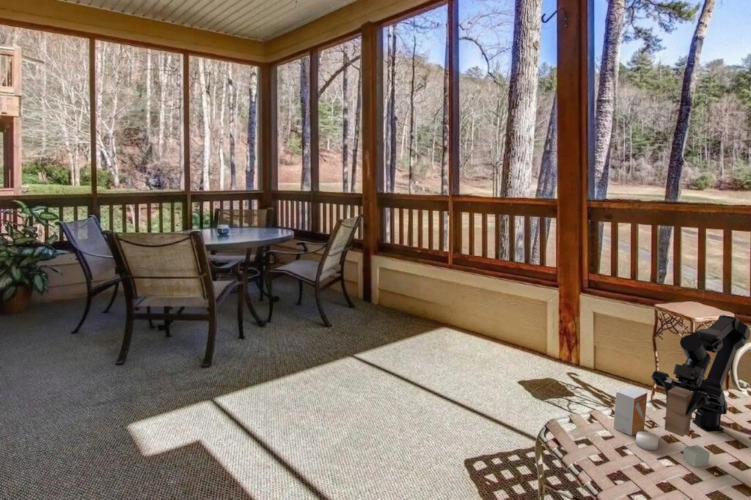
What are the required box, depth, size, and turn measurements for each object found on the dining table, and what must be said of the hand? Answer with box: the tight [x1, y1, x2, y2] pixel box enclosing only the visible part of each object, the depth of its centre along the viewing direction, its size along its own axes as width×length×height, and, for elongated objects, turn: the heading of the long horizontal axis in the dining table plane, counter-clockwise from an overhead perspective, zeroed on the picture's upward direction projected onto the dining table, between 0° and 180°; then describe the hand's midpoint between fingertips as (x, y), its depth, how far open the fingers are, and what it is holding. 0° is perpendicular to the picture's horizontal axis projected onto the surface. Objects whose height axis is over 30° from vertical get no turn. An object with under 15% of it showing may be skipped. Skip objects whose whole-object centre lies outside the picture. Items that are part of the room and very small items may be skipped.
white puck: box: [635, 430, 659, 451], centre depth 152 cm, size 6×6×3 cm
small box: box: [613, 385, 648, 436], centre depth 161 cm, size 8×6×13 cm
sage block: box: [682, 444, 710, 468], centre depth 143 cm, size 5×4×4 cm
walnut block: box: [664, 386, 693, 437], centre depth 147 cm, size 5×5×12 cm
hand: (676, 411), depth 146 cm, fingers closed on walnut block, 5 cm apart
